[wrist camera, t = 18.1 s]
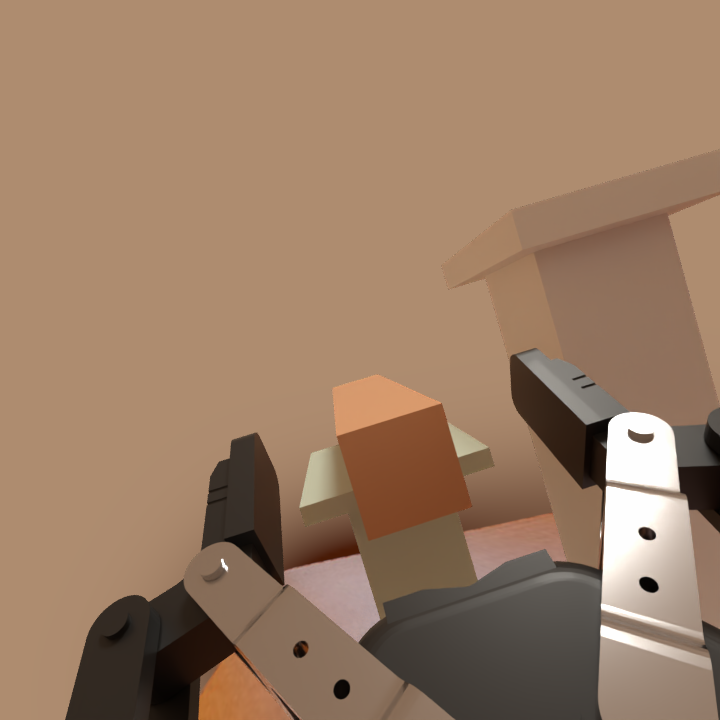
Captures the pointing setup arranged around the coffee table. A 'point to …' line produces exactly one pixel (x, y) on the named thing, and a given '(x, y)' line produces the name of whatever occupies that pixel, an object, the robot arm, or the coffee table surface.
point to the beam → (397, 455)
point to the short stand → (403, 548)
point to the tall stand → (607, 320)
